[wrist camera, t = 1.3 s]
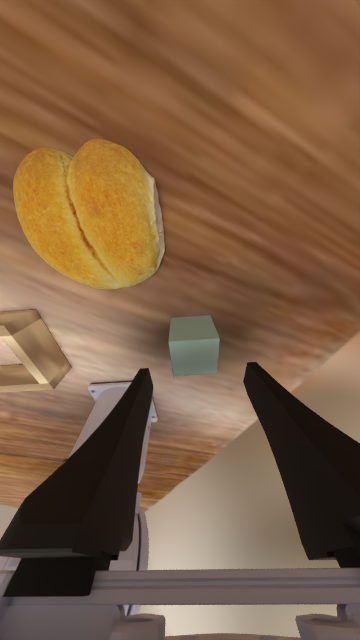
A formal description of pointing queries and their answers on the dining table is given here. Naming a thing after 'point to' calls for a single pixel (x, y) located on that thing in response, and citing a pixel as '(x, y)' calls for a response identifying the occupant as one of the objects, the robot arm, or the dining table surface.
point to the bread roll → (91, 214)
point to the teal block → (193, 345)
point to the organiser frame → (30, 353)
